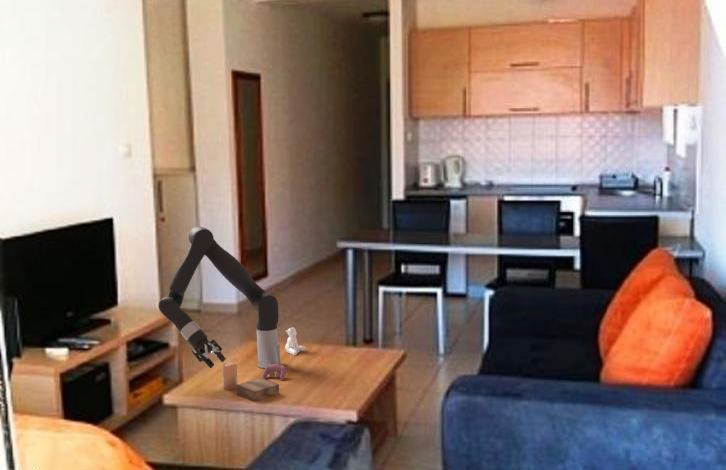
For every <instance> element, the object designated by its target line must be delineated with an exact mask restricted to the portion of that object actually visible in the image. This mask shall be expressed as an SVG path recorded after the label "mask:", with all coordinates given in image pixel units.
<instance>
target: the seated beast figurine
mask: <svg viewBox="0 0 726 470" xmlns="http://www.w3.org/2000/svg"><path fill="white" fill-rule="evenodd" d="M285 333H286V334H287V335H288V338H287V340H286V341H287V342H286V344H285V346H284V348H285V351H286V352H287V353H288V354H290V355H292V356H296V355H298V353H300V352H306V347H305V346H303V345H299V344H298V339H297V330H296V328H295V327H290V328H288V329H285Z"/></svg>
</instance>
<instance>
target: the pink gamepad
mask: <svg viewBox="0 0 726 470" xmlns="http://www.w3.org/2000/svg"><path fill="white" fill-rule="evenodd" d="M287 371H288V370H287V367H286V366H284V365H282V364H281V363H280V364H270V365H268V366H266V368H264V370H263V373H262V378H264V379H267V377H268V376H269V377H271V378H274V377H276V378H278V379H279V380H280V381H283V380H284V379H285V377H286V374H287Z"/></svg>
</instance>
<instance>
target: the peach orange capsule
mask: <svg viewBox="0 0 726 470" xmlns="http://www.w3.org/2000/svg"><path fill="white" fill-rule="evenodd" d="M237 365H238V364H237V363H236V362H231V361H229V362H225V363H224V362H223V363H222V383H223V384H222V387H223V390H225V391H235V390H237V385H238V366H237Z"/></svg>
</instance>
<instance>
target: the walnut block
mask: <svg viewBox="0 0 726 470" xmlns="http://www.w3.org/2000/svg"><path fill="white" fill-rule="evenodd" d="M236 390H237V391H236V392H237V395H238V396H241V397H243V398H245V399H247V400H250V401H253V402H258V401H261V400H263V399H267V398H271V397H274V396H276V395H277V396H278V395H280V384H279V383H277V382H275V381H271V380H270V379H269V380H268V379H267V378H265V379H264V378H263V377H259V378H255V379H252V380H249V381H245V382H242V383H239V384H238V385H237V389H236Z"/></svg>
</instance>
